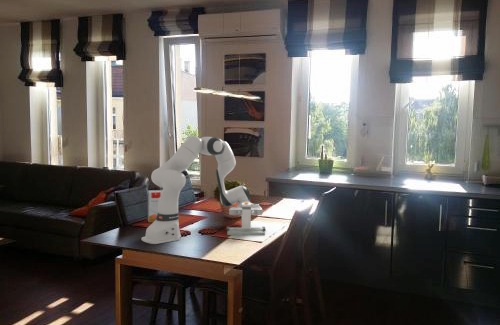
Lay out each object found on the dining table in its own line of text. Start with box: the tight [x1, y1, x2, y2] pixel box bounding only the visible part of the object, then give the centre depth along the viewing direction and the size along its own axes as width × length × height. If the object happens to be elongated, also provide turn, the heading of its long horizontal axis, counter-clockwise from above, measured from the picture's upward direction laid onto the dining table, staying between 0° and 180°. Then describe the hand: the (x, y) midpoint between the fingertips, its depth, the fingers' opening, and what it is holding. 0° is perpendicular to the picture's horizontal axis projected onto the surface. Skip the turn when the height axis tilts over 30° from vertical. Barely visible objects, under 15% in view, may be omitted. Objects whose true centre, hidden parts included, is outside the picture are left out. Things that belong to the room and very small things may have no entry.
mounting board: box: [226, 230, 266, 236], centre depth 258 cm, size 22×10×2 cm, turn 93°
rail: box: [226, 226, 266, 232], centre depth 258 cm, size 23×5×2 cm, turn 93°
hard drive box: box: [147, 189, 163, 223], centre depth 283 cm, size 16×8×20 cm, turn 105°
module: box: [241, 202, 252, 229], centre depth 257 cm, size 7×5×15 cm
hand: (246, 214), depth 256 cm, fingers closed on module, 5 cm apart
